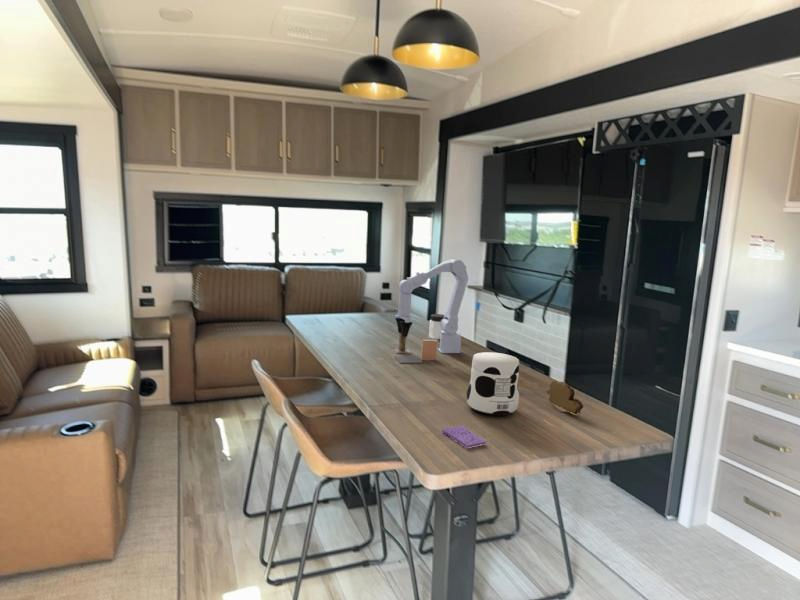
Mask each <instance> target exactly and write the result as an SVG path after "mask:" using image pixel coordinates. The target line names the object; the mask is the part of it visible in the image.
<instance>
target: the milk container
mask: <svg viewBox="0 0 800 600" xmlns="http://www.w3.org/2000/svg"><path fill="white" fill-rule="evenodd" d="M471 361H472V362H471V372H470V381H469V385H468V388H467V390H466V401H467V404H468V407H469V408H470V409H472V410H474V411H475V412H476V413H477V412H478V413H481V414H483V415H484V414H485V415H489V416H508V415H510V414H513V413H515V412H516V410H517V409H518V406H519V403H520V392H519V388H518V387H519V386H518V383H519V375H520V373H519V371H520V359H518V358H517V357H516V356H513V355H510V354H505V353H500V352H492V351H491V352H488V351H487V352H485V351H483V352H477V353H475V354H473V357H472V360H471Z"/></svg>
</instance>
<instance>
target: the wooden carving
mask: <svg viewBox="0 0 800 600" xmlns="http://www.w3.org/2000/svg"><path fill="white" fill-rule="evenodd" d="M549 387H550V389H546V390H545V392H546V393H547V394H548V395H549V397H548V400H549V402H550V404H552V403H553V404H555V405H557V406H559V407H562V408H563V409H565V410H567V411H569V412H572V413H574V414H577V413H580V414H581V410H582V409H583V408H584V405H583V403H582V401H581V400H580V399H578V398H575V390H574V388H573V387H571V385H569V384H568V383H566V382H564V381H557V380H555V381H551V382H550V384H549ZM569 412H568V413H569ZM577 415H578V414H577Z"/></svg>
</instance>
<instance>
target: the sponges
mask: <svg viewBox="0 0 800 600" xmlns="http://www.w3.org/2000/svg"><path fill="white" fill-rule="evenodd" d="M442 432H443V433H445V434H446V435H448V436H450V437H451V438H453V439H454V440H456V441H457V442H459V443H460V444H462V445H464V446H465V447H466V448H468V447H472V446H477V445H480V444H485V443H487V440H486V439H483V438H482V437H479V436H478V435H477V434H475V433H474V432H472V431H471V430H469V429H468V428H466V427H464V426H463V425H457V426H453V427H448V428H447V427H446V428H442V431H441V433H442ZM443 433H442V434H443ZM445 434H444V435H445ZM446 435H445V436H446ZM448 436H447V437H448ZM451 438H450V439H451ZM454 440H453V441H454ZM457 442H456V443H457Z"/></svg>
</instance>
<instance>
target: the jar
mask: <svg viewBox="0 0 800 600" xmlns="http://www.w3.org/2000/svg"><path fill="white" fill-rule="evenodd" d="M444 315H445V314H443V313H442V314H440V313H432V314H431V315H430V320H429V328H428V338H430V339H431V340H440V337H441V331H442V328H441V326H440V322H441V320H442V319H443V318H444Z"/></svg>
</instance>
